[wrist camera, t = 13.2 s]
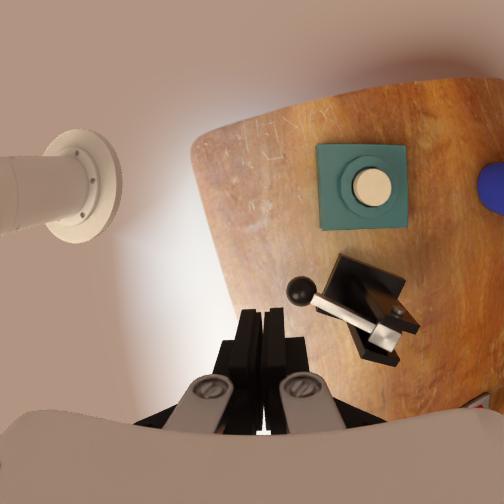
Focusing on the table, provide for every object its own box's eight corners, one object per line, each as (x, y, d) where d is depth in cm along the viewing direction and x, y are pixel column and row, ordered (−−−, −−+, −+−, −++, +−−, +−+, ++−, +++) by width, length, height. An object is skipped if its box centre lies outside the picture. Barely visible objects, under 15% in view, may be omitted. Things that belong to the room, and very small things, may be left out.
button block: (319, 227, 35) (324, 233, 32) (315, 146, 33) (319, 142, 29) (401, 224, 34) (414, 230, 30) (398, 146, 32) (411, 144, 28)
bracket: (315, 307, 38) (328, 364, 26) (339, 253, 36) (366, 290, 24) (377, 327, 38) (408, 382, 26) (402, 277, 36) (447, 319, 24)
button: (353, 205, 31) (357, 206, 29) (352, 169, 30) (356, 168, 28) (386, 204, 30) (392, 206, 29) (385, 169, 29) (390, 168, 28)
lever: (288, 294, 33) (277, 301, 30) (299, 269, 32) (288, 273, 29) (390, 346, 28) (388, 358, 25) (404, 321, 27) (404, 331, 24)
